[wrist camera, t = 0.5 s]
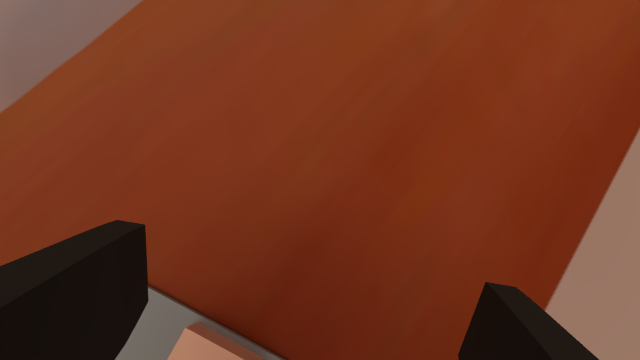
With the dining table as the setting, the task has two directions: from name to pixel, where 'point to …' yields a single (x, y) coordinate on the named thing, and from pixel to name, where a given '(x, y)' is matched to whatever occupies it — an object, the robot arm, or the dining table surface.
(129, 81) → the dining table surface
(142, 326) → the build board
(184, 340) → the terracotta block
